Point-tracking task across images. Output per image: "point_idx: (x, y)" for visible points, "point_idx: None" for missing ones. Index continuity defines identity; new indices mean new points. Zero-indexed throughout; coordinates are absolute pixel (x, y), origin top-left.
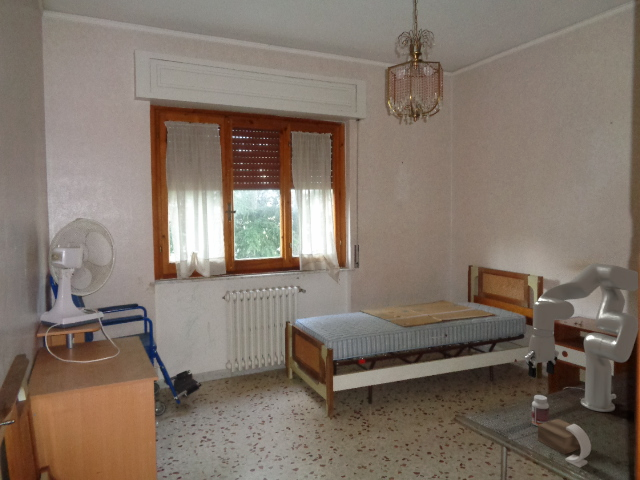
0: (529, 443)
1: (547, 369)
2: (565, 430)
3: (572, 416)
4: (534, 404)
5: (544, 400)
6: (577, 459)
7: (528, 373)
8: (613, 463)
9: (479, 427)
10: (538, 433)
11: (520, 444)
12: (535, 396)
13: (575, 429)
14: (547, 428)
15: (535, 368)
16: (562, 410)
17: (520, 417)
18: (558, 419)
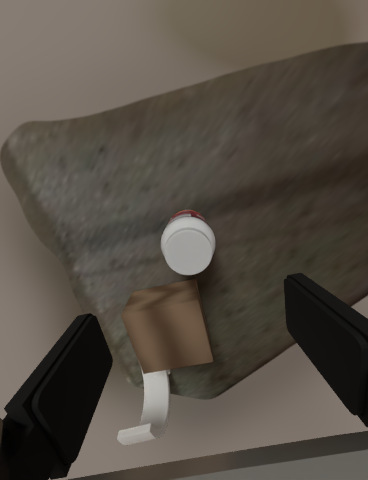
0: (108, 296)
1: (301, 300)
2: (169, 350)
3: (299, 214)
4: (162, 247)
5: (188, 274)
6: (144, 385)
7: (70, 325)
8: (213, 377)
9: (22, 206)
10: (128, 302)
11: (87, 295)
12: (173, 242)
13: (137, 441)
14: (133, 333)
15: (54, 473)
16: (306, 173)
17: (159, 182)
18: (193, 304)
